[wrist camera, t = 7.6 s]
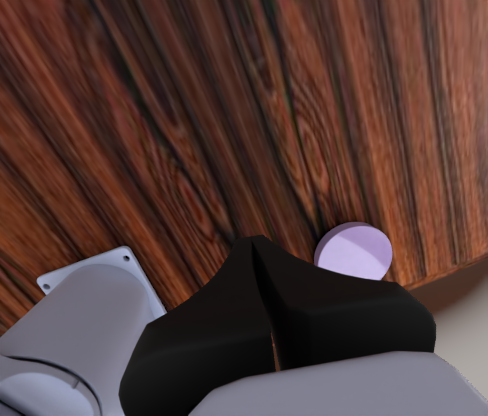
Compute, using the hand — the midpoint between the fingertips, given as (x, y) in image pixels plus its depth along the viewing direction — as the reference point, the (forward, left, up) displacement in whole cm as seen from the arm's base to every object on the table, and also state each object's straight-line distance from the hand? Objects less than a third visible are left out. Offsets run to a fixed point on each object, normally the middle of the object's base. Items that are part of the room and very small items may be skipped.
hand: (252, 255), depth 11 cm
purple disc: (-8, -7, -8) cm, 14 cm away
